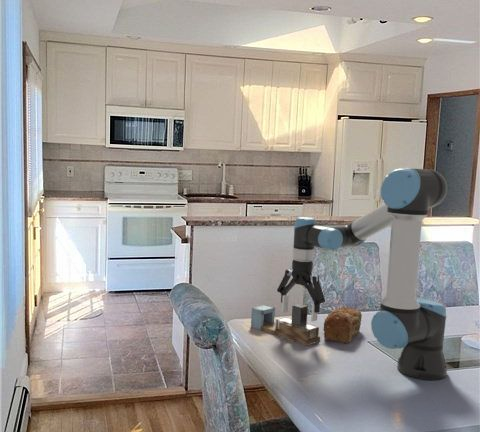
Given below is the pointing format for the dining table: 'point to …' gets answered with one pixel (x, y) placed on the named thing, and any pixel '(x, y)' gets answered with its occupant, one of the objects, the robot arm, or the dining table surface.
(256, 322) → the socket
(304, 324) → the grey and white block
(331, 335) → the bread
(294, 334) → the rail
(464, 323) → the dining table surface
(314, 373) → the dining table surface
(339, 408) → the dining table surface
